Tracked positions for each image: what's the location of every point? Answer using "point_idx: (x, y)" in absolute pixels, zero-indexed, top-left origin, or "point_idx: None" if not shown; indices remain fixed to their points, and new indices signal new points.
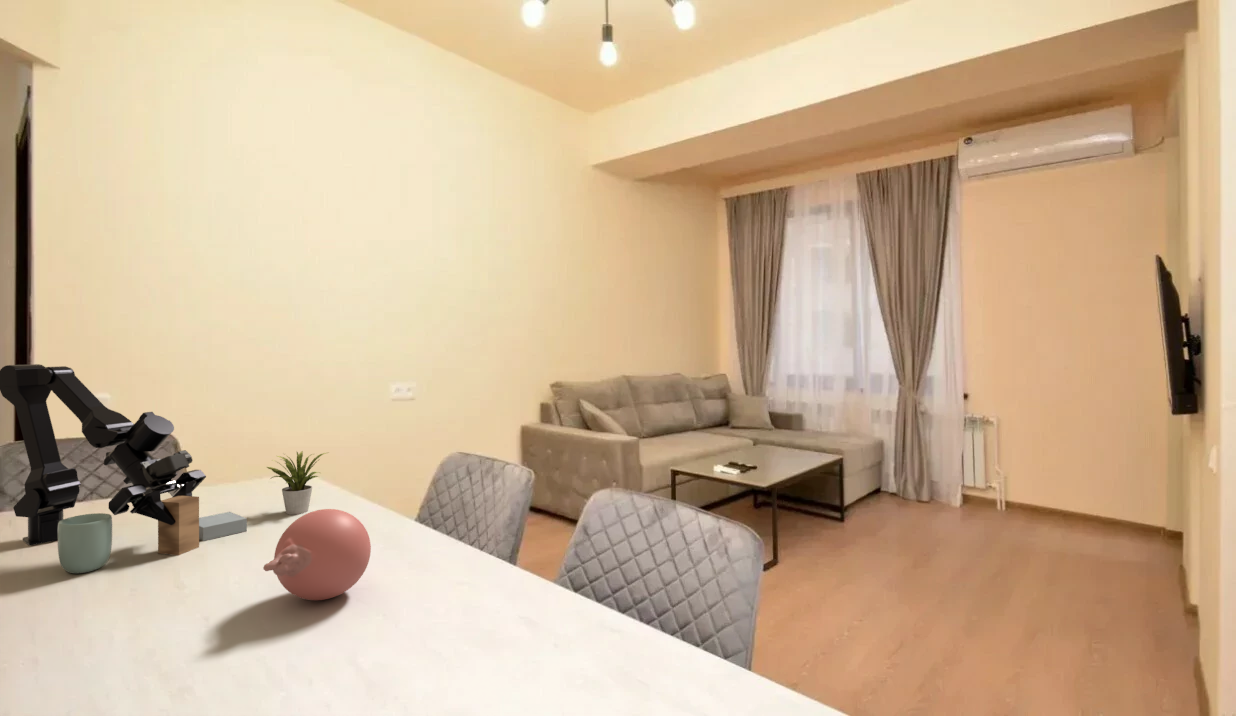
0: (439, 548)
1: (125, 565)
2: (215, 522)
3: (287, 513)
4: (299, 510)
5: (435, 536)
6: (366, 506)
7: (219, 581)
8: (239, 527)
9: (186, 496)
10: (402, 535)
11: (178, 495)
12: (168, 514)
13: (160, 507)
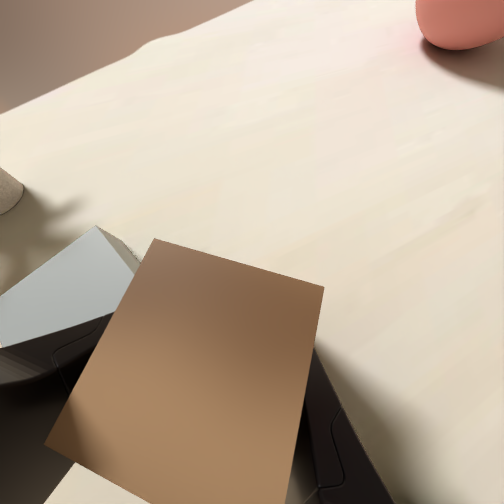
0: (275, 4)
1: (368, 427)
2: (107, 292)
3: (7, 209)
4: (15, 181)
5: (228, 14)
6: (32, 104)
7: (427, 162)
8: (120, 245)
9: (118, 336)
10: (217, 37)
11: (13, 462)
12: (312, 359)
13: (355, 434)
